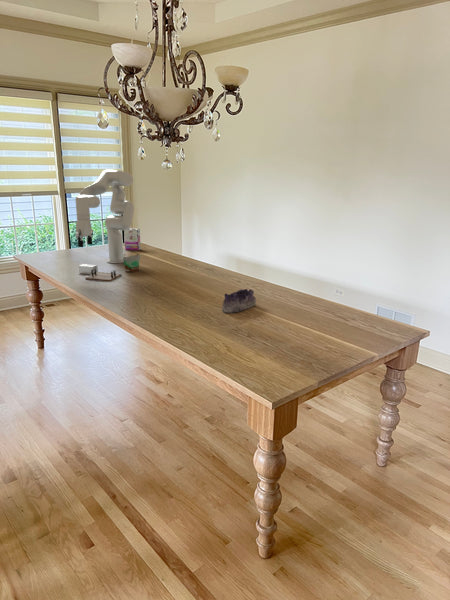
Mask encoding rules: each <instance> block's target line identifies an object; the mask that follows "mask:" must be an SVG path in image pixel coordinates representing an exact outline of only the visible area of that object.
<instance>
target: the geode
mask: <svg viewBox="0 0 450 600" xmlns="http://www.w3.org/2000/svg"><path fill="white" fill-rule="evenodd" d="M256 302H257V298H256V297H255V291H254V289H248V288H245V289H242V288H241V289H239V290H237V291H234V292H231V293H230V294H228V293H224V300H223V301H222V310H221V311H222V312H223V314H226V315H230V314H238V313H239V312H242V311H245V310H248V309H250V308H252V307H254V306H256Z"/></svg>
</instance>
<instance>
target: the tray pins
mask: <svg viewBox="0 0 450 600" xmlns="http://www.w3.org/2000/svg"><path fill="white" fill-rule="evenodd" d="M116 271H117V270H115V269H113V270H112V271H110V273H111V278H113V273H114V276H116V274H117V272H116ZM94 274H96V268H94ZM94 274H93V270H91V274H90V275H92V276H94Z"/></svg>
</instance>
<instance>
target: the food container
mask: <svg viewBox="0 0 450 600" xmlns="http://www.w3.org/2000/svg"><path fill="white" fill-rule="evenodd" d="M140 259H141V255H140V254H139V253H136V255H130V256H124V257H123V260H124V262H123V263H124V270H125V273H137V272H139V271H140Z"/></svg>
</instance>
